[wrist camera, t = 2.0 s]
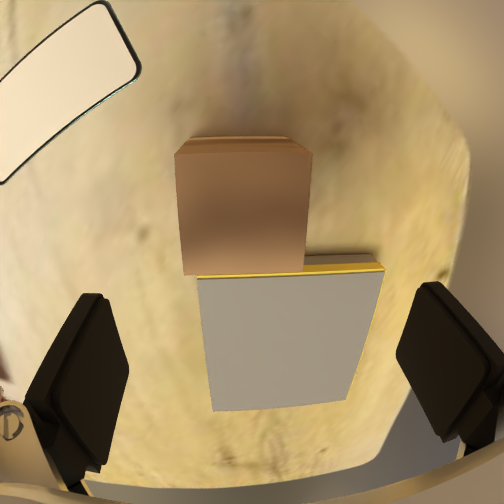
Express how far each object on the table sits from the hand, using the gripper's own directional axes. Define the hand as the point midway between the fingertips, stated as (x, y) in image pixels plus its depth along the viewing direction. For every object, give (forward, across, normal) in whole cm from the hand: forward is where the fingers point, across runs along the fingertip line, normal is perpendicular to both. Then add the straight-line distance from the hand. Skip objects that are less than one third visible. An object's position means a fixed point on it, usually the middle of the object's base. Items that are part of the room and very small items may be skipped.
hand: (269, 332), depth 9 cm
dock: (+15, -4, +13) cm, 20 cm away
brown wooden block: (+15, 0, -1) cm, 15 cm away
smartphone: (+15, +15, -9) cm, 23 cm away
